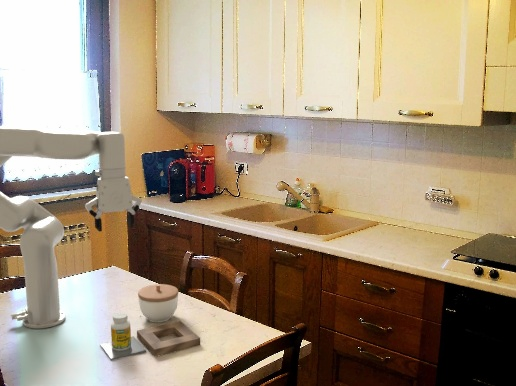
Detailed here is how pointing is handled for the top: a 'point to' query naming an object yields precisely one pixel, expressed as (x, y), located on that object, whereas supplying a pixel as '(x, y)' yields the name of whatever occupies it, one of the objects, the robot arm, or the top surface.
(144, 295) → the lidded bowl
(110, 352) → the coaster
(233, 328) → the top surface
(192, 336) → the socket board
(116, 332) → the supplement bottle
